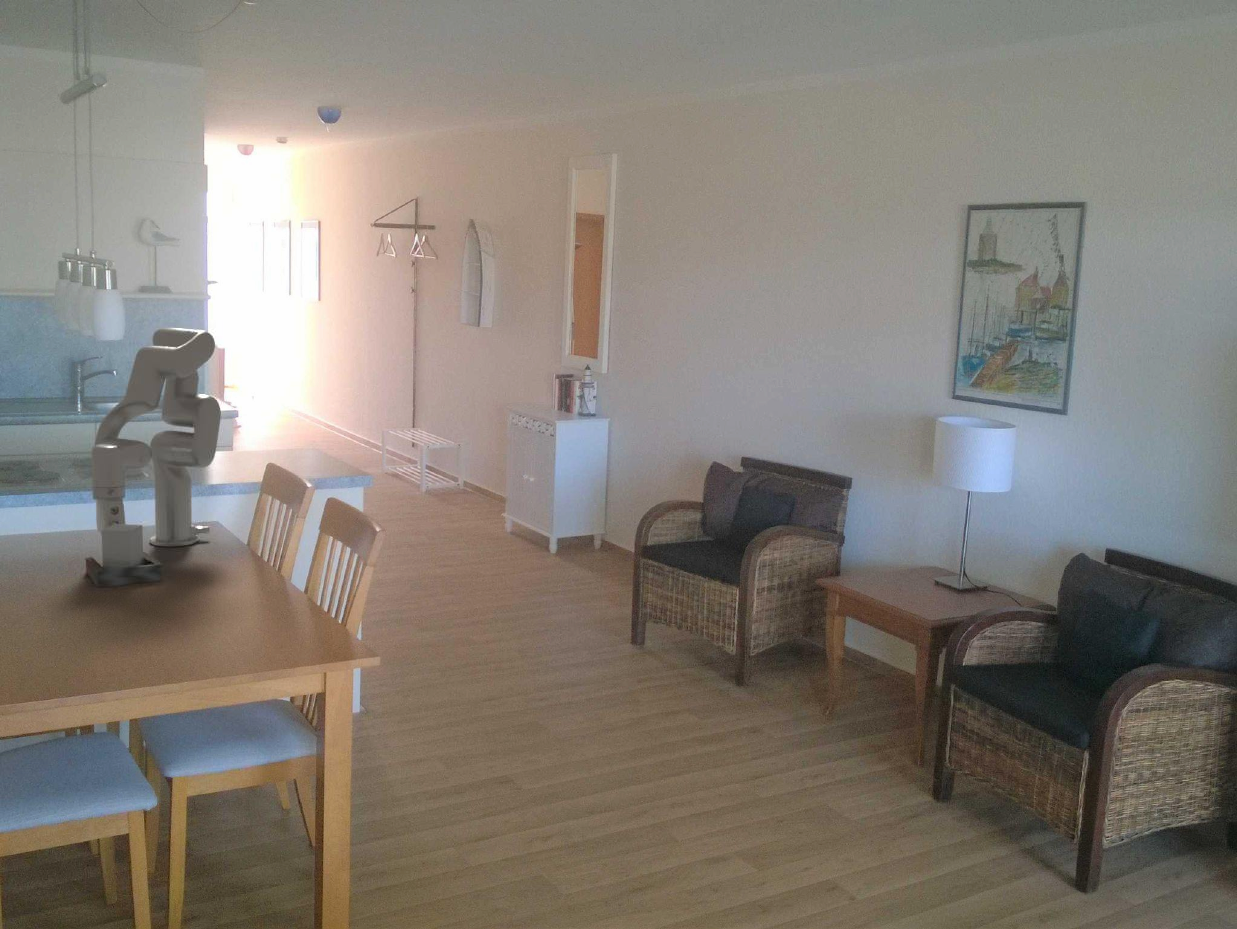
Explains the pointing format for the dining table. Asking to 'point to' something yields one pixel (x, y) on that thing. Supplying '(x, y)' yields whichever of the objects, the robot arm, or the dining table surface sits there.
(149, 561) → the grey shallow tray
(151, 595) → the dining table surface
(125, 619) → the dining table surface
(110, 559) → the supplement box
